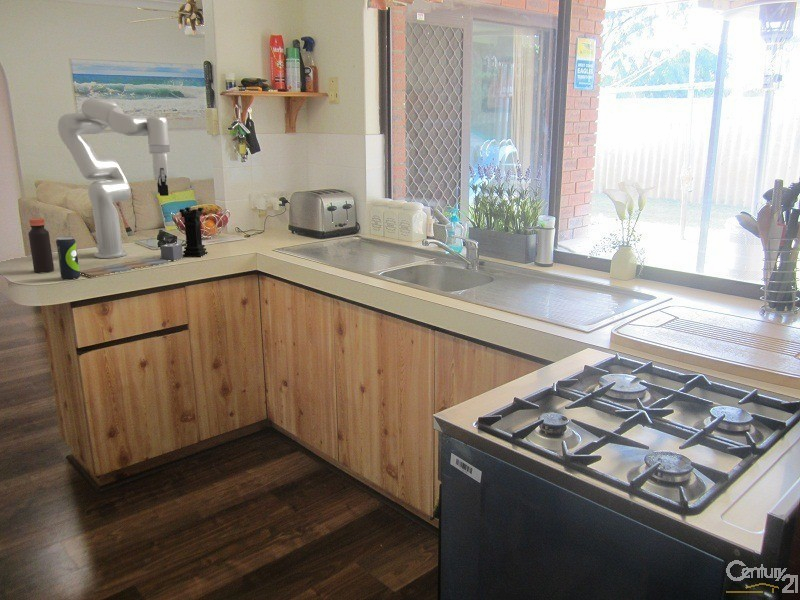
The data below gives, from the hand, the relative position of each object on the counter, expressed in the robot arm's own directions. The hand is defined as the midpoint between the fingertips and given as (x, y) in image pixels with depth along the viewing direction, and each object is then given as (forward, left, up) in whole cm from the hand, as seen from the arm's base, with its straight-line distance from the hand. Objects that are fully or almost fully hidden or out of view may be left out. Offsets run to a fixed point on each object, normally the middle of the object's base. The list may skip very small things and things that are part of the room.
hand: (163, 194), depth 254 cm
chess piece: (-5, +15, -28) cm, 32 cm away
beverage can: (-5, -38, -28) cm, 47 cm away
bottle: (-24, -39, -28) cm, 53 cm away
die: (-5, +4, -28) cm, 28 cm away
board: (-5, -17, -28) cm, 33 cm away
